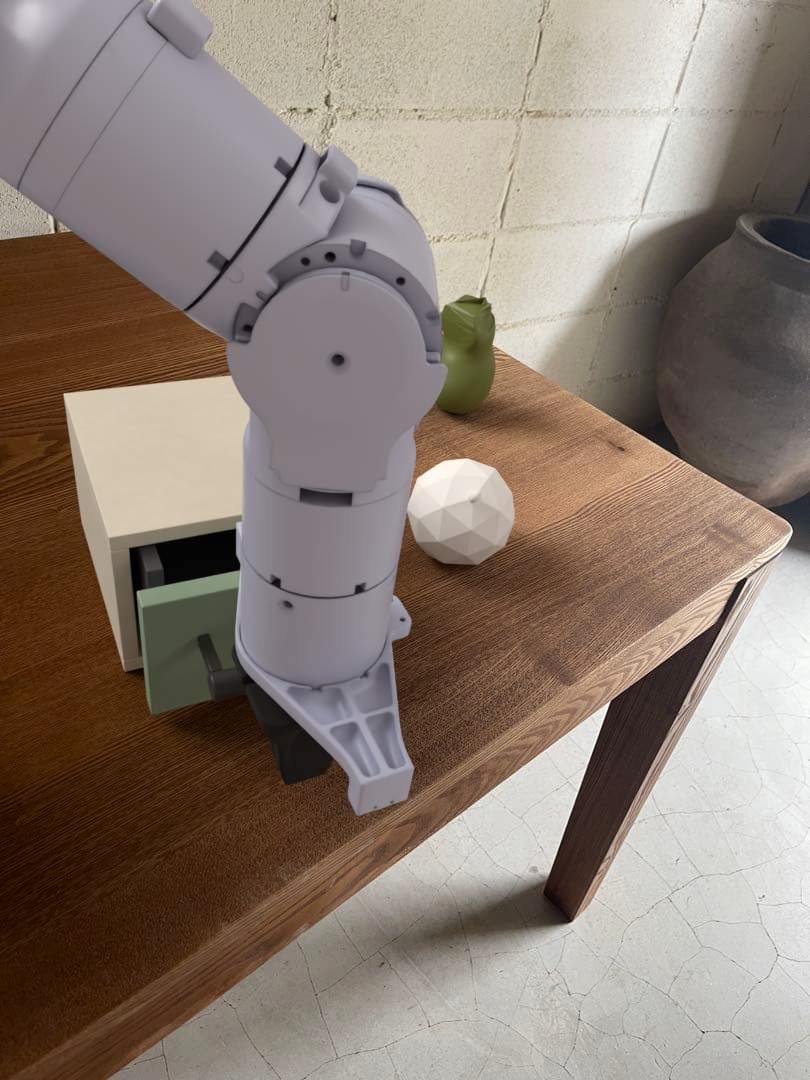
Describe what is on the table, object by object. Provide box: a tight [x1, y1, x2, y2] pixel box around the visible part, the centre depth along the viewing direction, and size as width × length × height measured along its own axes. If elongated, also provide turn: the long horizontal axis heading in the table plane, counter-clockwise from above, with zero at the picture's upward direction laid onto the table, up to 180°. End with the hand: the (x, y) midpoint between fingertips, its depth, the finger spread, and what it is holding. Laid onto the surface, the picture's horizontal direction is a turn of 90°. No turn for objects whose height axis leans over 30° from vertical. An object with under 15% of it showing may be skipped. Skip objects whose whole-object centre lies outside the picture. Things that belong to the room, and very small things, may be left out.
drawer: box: [129, 529, 247, 716], centre depth 47 cm, size 16×11×8 cm, turn 25°
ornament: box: [407, 457, 516, 566], centre depth 57 cm, size 7×7×8 cm
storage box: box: [63, 374, 250, 672], centre depth 52 cm, size 14×12×10 cm
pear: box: [434, 294, 497, 414], centre depth 71 cm, size 6×5×10 cm
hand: (301, 767), depth 40 cm, fingers closed
